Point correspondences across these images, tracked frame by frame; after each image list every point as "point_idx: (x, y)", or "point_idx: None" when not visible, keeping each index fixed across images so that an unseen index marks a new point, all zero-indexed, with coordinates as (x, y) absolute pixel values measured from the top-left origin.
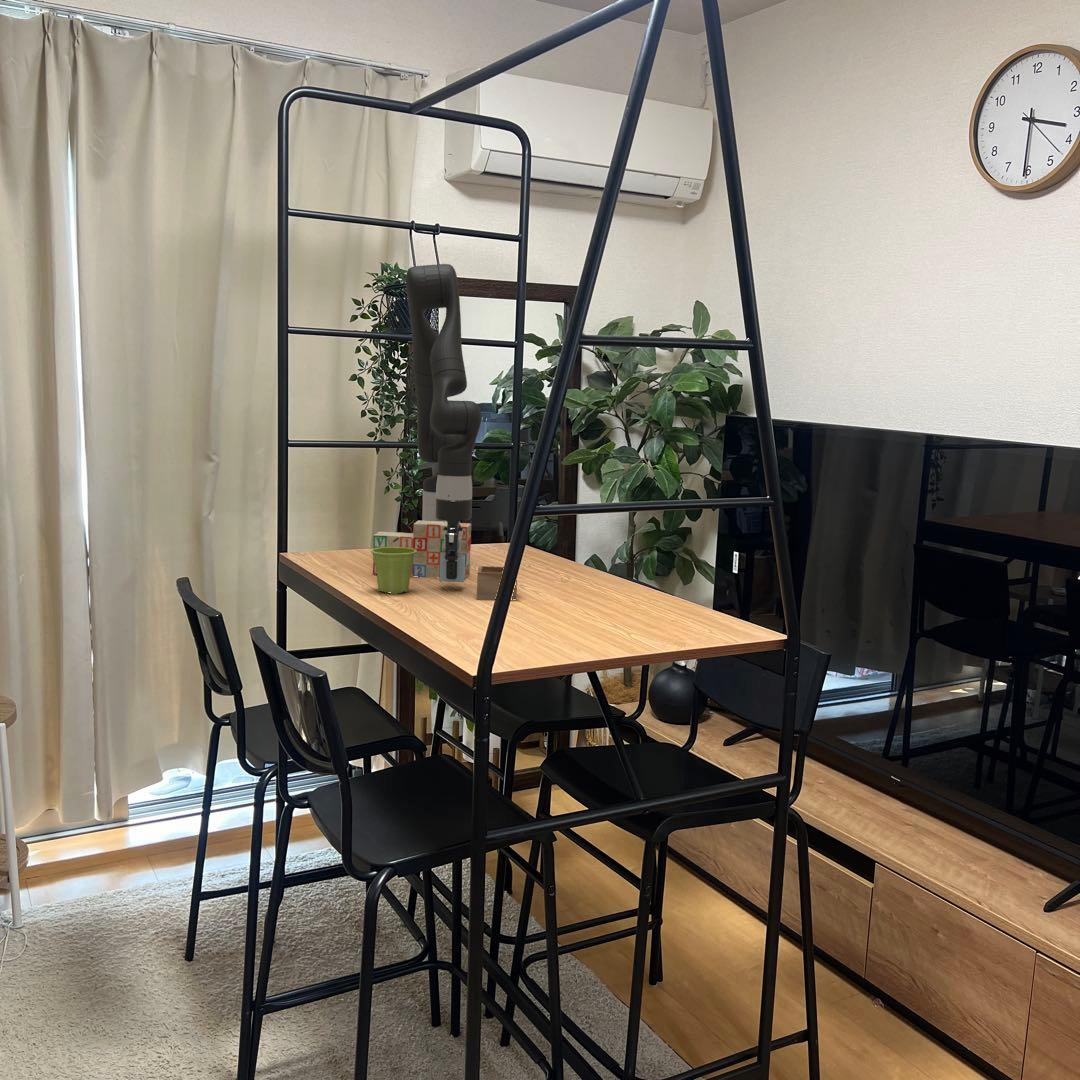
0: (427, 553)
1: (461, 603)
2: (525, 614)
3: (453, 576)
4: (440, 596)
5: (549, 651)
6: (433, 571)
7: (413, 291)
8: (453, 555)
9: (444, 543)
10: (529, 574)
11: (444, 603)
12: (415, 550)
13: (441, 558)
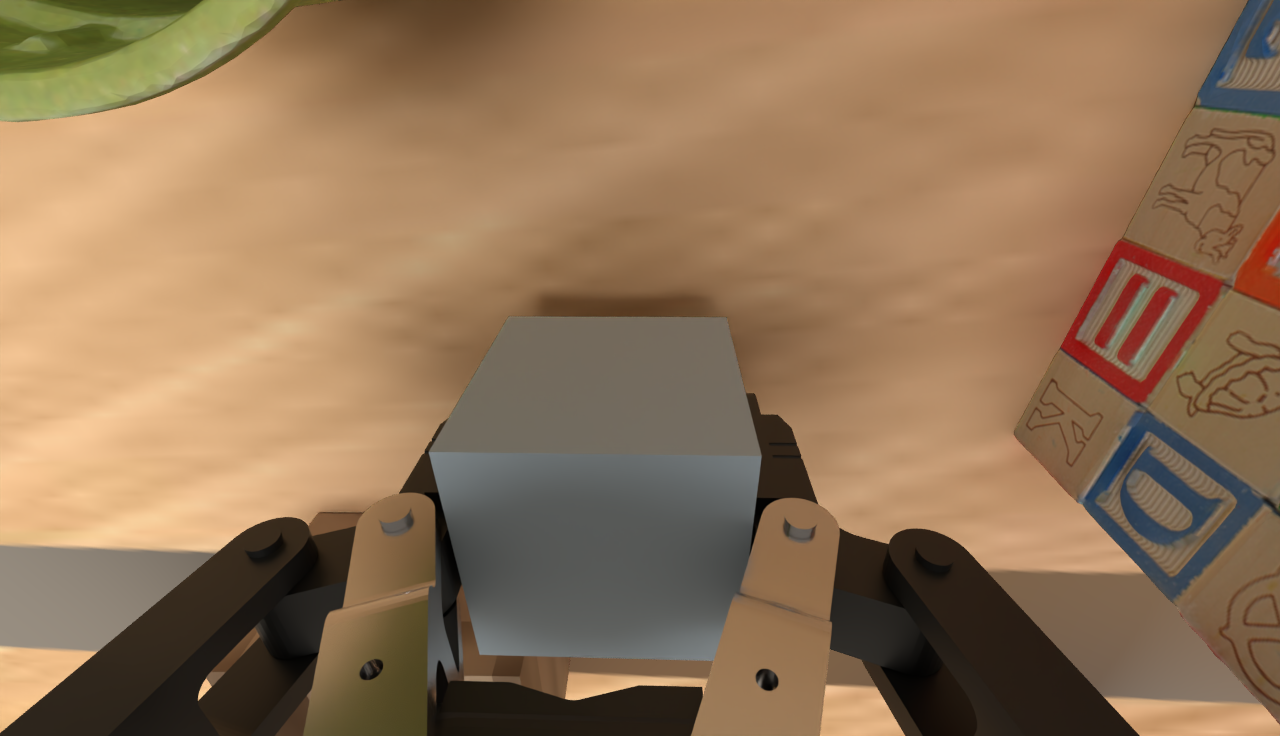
0: None
1: (155, 443)
2: None
3: None
4: (313, 308)
5: None
6: (1203, 200)
7: None
8: (264, 637)
9: (313, 694)
10: (1130, 708)
11: (85, 350)
12: (50, 87)
13: (437, 463)
